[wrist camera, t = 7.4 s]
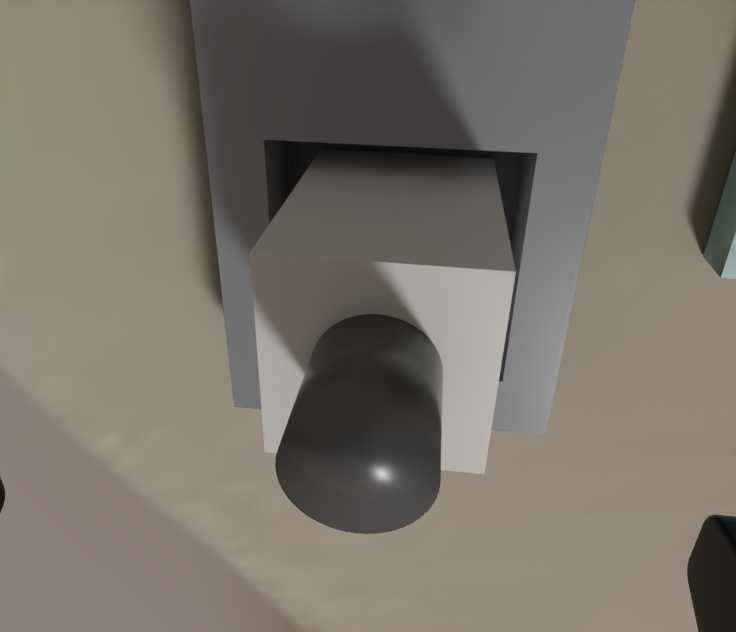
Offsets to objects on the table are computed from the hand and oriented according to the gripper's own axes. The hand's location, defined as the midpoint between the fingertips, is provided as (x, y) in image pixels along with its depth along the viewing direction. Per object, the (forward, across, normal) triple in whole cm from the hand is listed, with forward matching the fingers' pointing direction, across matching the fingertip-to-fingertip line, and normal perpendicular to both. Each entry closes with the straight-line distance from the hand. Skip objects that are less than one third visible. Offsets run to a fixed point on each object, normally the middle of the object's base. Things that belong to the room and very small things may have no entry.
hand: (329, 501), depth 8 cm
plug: (+9, 0, 0) cm, 9 cm away
